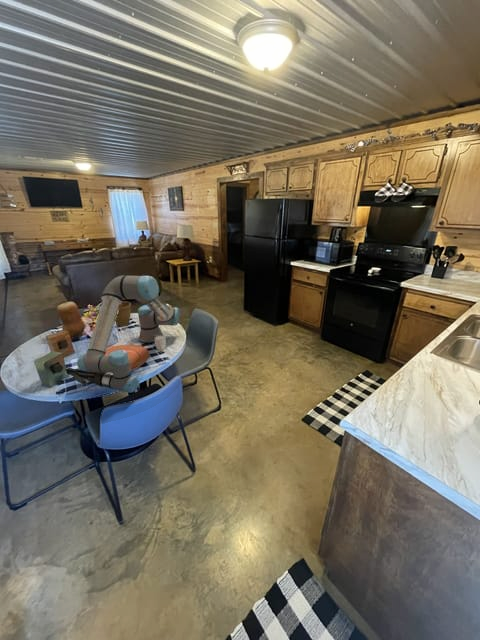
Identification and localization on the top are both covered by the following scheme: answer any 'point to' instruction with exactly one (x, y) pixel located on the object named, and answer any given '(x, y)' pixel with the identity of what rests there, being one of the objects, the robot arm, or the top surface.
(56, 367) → the front button
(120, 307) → the plant pot
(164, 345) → the shot glass
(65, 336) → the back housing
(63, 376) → the front housing
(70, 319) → the butternut squash
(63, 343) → the back button
